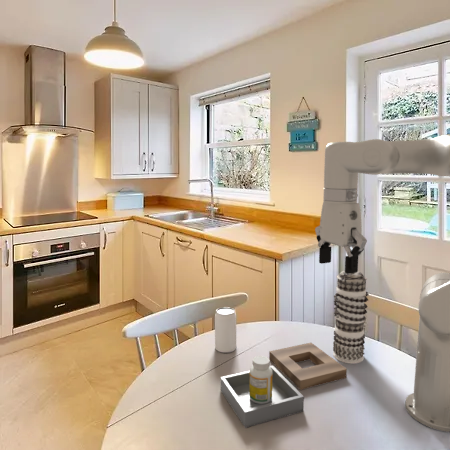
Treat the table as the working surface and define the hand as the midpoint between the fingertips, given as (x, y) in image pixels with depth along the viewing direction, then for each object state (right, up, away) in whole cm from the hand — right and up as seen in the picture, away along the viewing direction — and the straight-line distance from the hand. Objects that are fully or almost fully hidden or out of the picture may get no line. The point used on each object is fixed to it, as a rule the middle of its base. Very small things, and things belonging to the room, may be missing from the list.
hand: (337, 267), depth 90 cm
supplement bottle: (-19, -31, -2) cm, 36 cm away
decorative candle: (+9, -28, +19) cm, 35 cm away
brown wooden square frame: (-5, -29, +12) cm, 32 cm away
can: (-27, -27, +24) cm, 45 cm away
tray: (-19, -31, -2) cm, 36 cm away
